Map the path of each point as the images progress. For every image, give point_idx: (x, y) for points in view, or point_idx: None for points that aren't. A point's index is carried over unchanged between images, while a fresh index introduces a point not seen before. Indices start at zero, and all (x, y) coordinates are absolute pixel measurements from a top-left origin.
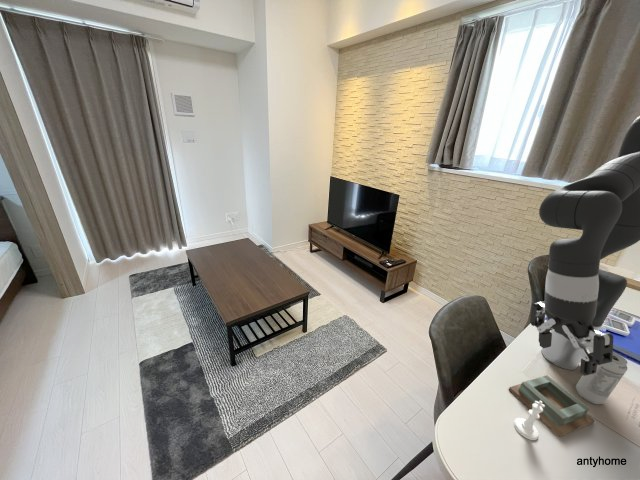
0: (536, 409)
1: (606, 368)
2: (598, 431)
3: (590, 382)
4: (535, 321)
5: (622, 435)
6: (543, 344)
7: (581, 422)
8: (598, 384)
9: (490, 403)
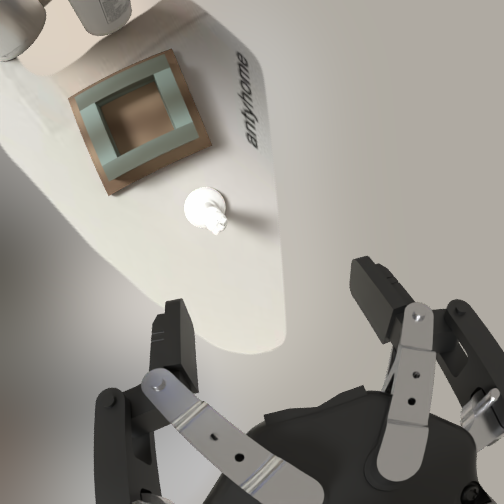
0: (223, 229)
1: None
2: (189, 54)
3: (104, 15)
4: (154, 446)
5: (193, 18)
6: (193, 340)
7: (179, 80)
8: (115, 5)
9: (158, 254)
